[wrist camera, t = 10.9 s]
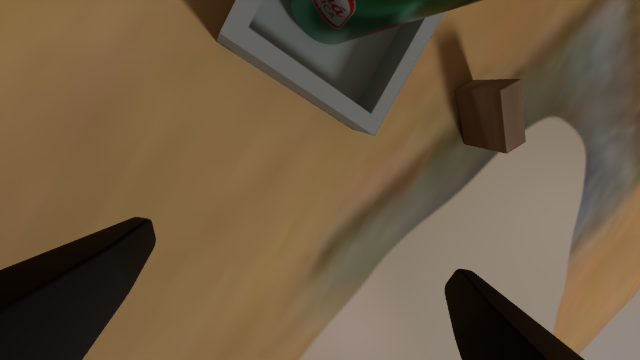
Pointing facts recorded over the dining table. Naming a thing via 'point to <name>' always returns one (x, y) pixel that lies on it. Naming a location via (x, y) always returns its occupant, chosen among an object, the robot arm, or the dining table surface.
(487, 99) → the brown rectangular block
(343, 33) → the soda can
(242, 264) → the dining table surface
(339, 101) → the tray
